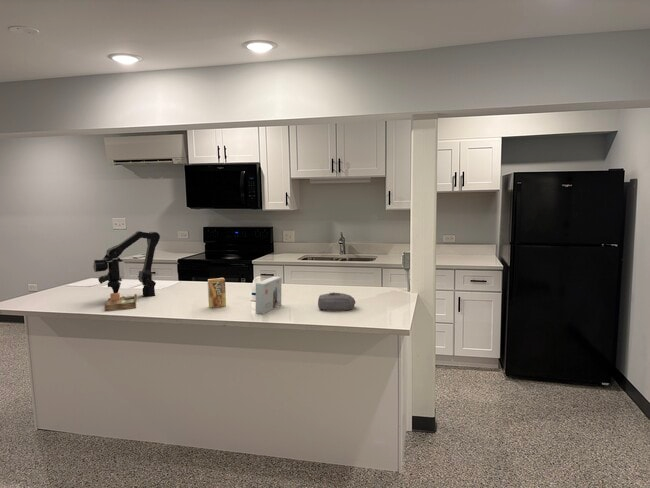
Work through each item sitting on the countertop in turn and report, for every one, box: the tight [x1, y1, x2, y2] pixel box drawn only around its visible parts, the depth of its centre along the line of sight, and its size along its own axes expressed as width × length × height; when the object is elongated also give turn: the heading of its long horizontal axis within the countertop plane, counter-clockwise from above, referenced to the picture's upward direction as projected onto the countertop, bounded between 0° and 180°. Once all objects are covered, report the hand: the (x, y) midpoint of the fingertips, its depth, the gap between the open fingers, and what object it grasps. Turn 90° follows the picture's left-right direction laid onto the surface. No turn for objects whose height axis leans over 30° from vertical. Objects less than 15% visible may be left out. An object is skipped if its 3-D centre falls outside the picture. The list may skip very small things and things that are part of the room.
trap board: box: [104, 293, 138, 312], centre depth 255 cm, size 15×23×3 cm, turn 21°
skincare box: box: [255, 275, 283, 315], centre depth 240 cm, size 21×5×16 cm, turn 160°
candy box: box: [207, 277, 227, 309], centre depth 247 cm, size 9×4×15 cm, turn 116°
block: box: [109, 292, 121, 301], centre depth 260 cm, size 5×5×3 cm
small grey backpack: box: [317, 292, 356, 311], centre depth 240 cm, size 15×8×20 cm
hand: (115, 296), depth 264 cm, fingers closed
